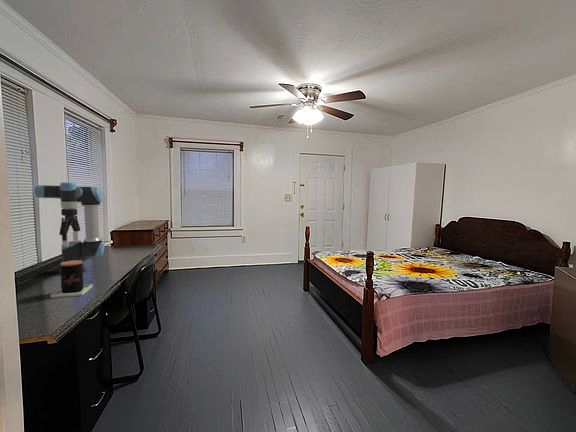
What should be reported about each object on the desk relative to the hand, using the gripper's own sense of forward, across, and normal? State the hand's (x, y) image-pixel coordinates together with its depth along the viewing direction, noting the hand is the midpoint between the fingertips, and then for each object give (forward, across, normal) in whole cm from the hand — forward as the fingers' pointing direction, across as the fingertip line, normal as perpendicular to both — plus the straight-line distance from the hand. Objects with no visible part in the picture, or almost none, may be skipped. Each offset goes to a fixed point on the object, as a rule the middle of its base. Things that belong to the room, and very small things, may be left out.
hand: (71, 243), depth 168 cm
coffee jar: (+29, +1, 0) cm, 29 cm away
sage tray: (+30, +1, 0) cm, 30 cm away
